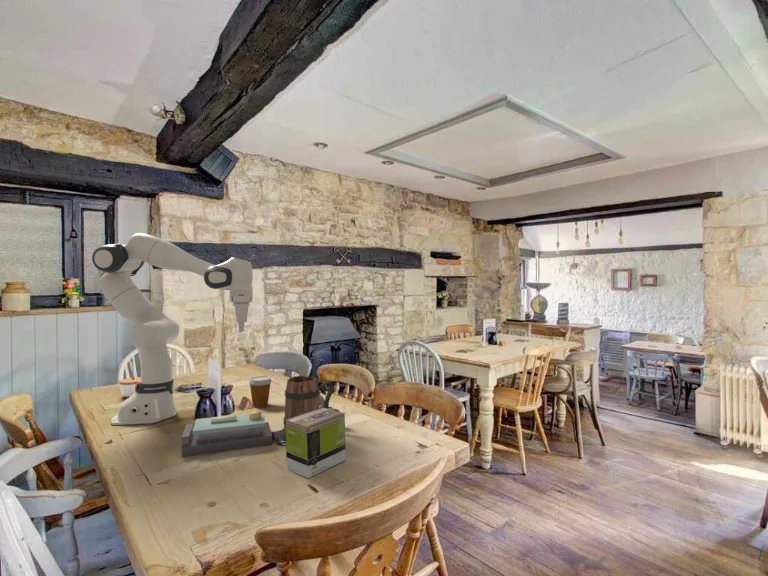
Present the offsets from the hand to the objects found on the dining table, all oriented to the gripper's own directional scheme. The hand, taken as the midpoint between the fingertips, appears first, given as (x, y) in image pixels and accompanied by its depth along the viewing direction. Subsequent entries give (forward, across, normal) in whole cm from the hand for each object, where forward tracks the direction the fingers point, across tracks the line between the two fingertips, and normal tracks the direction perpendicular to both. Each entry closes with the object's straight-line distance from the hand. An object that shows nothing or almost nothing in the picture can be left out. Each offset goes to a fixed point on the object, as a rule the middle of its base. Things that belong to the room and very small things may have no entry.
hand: (241, 331), depth 162 cm
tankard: (+34, +28, +23) cm, 50 cm away
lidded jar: (+34, -49, -48) cm, 77 cm away
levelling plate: (+28, +27, -4) cm, 39 cm away
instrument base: (+34, +27, -5) cm, 44 cm away
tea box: (+34, +54, +20) cm, 67 cm away
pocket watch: (+34, +6, +32) cm, 47 cm away
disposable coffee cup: (+34, -12, +8) cm, 37 cm away
